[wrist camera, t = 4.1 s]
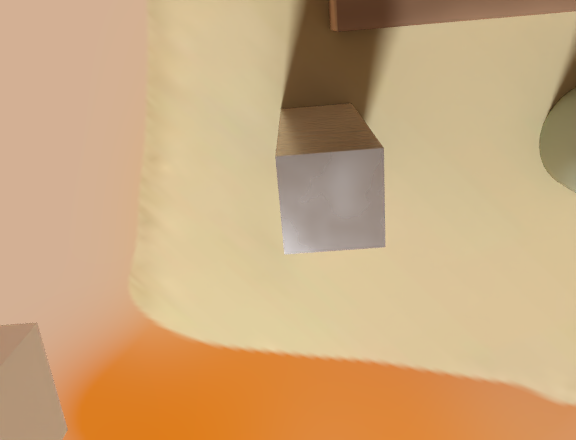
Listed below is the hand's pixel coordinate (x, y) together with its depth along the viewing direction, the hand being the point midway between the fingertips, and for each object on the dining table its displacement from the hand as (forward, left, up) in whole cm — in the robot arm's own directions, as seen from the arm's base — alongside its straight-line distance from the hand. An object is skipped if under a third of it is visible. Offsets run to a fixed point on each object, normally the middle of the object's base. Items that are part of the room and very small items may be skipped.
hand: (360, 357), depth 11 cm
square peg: (0, 0, -21) cm, 21 cm away
